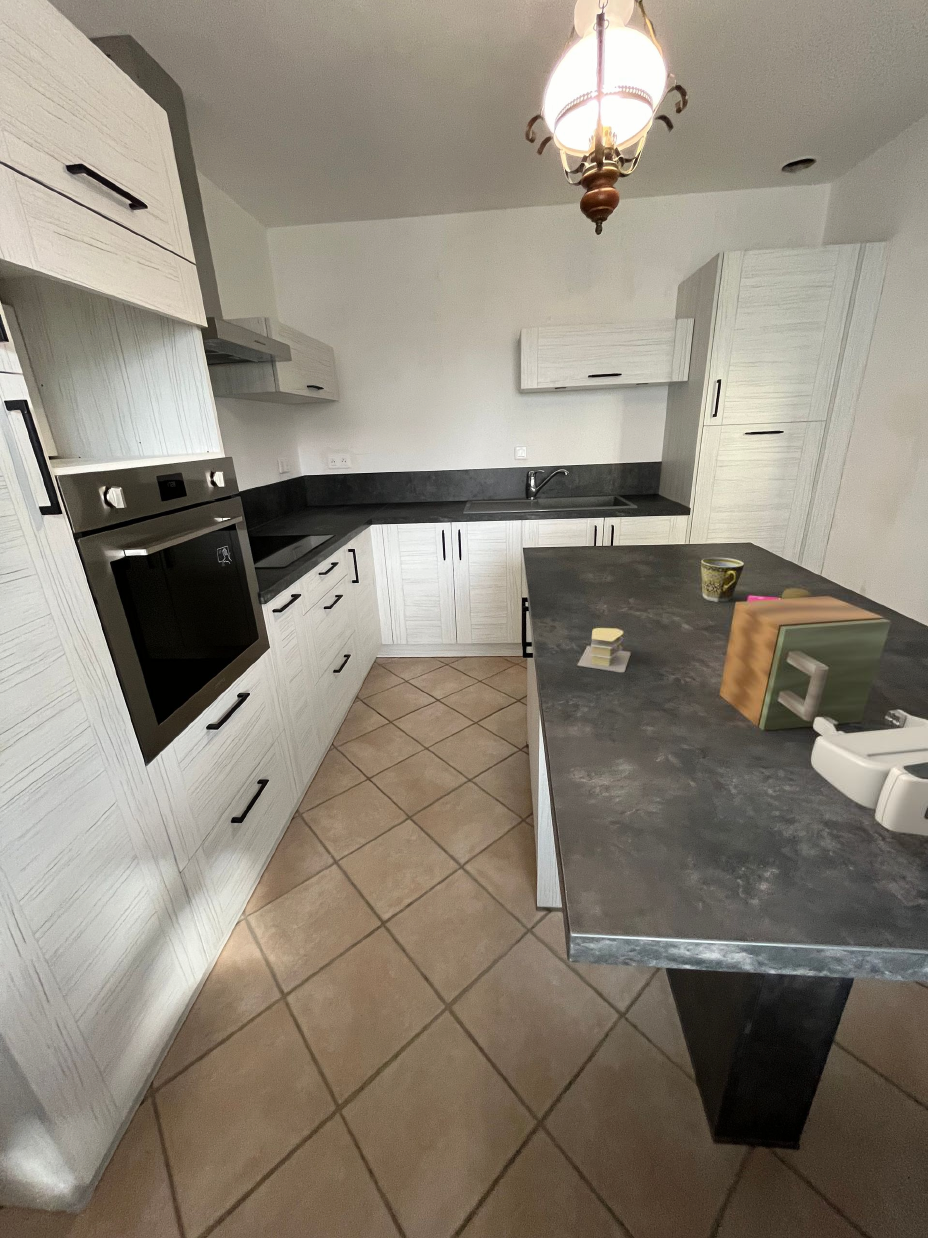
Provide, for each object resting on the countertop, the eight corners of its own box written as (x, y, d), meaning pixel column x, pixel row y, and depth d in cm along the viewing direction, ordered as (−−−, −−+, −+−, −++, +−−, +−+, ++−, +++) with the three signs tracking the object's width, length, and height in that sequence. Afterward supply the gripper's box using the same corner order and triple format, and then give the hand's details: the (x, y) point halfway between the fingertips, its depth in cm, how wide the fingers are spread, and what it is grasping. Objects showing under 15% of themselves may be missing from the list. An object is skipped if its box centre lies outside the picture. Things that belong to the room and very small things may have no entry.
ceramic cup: (690, 592, 136) (695, 557, 132) (727, 592, 135) (733, 556, 131) (710, 608, 123) (716, 570, 120) (750, 607, 123) (758, 569, 119)
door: (895, 744, 69) (932, 637, 63) (790, 754, 68) (818, 645, 62) (855, 718, 76) (885, 618, 70) (758, 727, 74) (780, 626, 68)
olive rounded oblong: (766, 638, 105) (776, 589, 101) (777, 630, 109) (787, 583, 105) (798, 646, 101) (810, 596, 97) (808, 638, 105) (820, 589, 101)
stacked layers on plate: (624, 673, 93) (626, 646, 91) (577, 665, 96) (578, 640, 94) (630, 652, 101) (633, 627, 99) (587, 646, 105) (588, 622, 103)
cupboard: (853, 718, 76) (883, 617, 70) (757, 727, 75) (779, 624, 69) (805, 687, 85) (828, 595, 79) (719, 694, 84) (735, 601, 78)
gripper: (1085, 758, 47) (940, 688, 60) (889, 779, 45) (783, 702, 58) (1059, 810, 49) (924, 732, 62) (871, 832, 47) (773, 747, 60)
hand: (855, 718), depth 60 cm, fingers open, 8 cm apart
